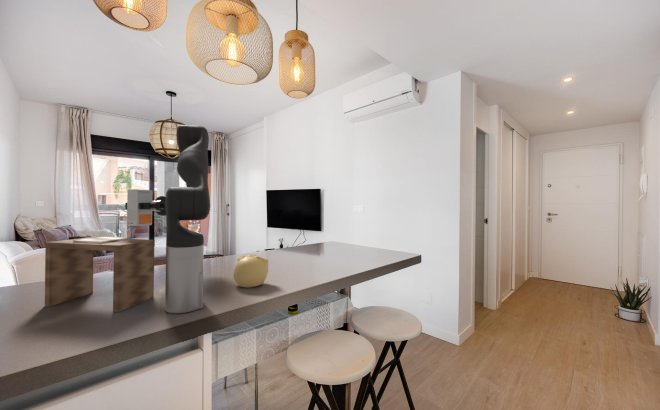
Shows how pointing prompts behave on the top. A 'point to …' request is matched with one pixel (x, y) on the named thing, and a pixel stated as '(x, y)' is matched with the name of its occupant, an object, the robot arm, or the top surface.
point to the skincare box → (133, 212)
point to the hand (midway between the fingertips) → (133, 206)
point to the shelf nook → (77, 269)
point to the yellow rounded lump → (250, 271)
